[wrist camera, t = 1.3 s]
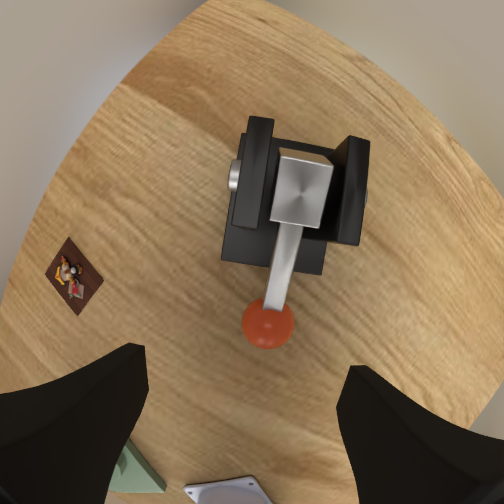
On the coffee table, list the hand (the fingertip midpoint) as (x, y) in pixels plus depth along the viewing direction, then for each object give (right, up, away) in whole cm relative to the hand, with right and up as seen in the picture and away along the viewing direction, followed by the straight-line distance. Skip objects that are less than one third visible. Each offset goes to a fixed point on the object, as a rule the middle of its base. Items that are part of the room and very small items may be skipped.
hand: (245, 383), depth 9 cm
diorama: (-15, +2, +12) cm, 19 cm away
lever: (+2, +5, +6) cm, 8 cm away
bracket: (+2, +8, +11) cm, 14 cm away
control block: (-15, -18, +13) cm, 26 cm away
